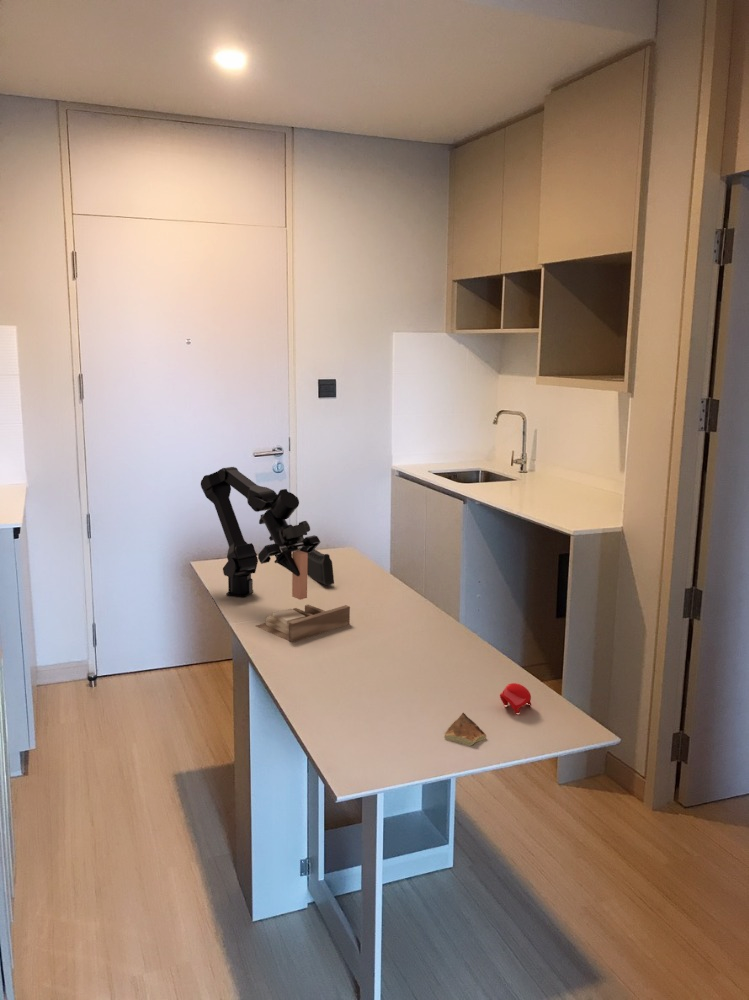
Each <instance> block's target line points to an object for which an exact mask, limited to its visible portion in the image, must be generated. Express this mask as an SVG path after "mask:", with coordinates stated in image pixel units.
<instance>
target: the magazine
mask: <svg viewBox="0 0 749 1000" xmlns="http://www.w3.org/2000/svg"><path fill="white" fill-rule="evenodd" d="M300 537H301V539H300V540H299V541H297V543H301V542H302V541H303V539H304V538H305V537H304V535H303V536H300ZM292 558H293V552H292ZM307 567H308V573H307V577H309V578H311V579H313V580H314V581H316V582H317V583H321V584H323V585H326V586H331V585H334V584H335V579H334V569H333V568H334V567H333V561H332V559H331V557H330V554H329V553H322V552H320V551H318V550H317V549H316V548H315V549H314V550H313V551H312V552H311V553H308V563H307Z"/></svg>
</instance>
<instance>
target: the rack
mask: <svg viewBox="0 0 749 1000" xmlns="http://www.w3.org/2000/svg"><path fill="white" fill-rule="evenodd" d="M350 609H351V607H350V605H346V604H345V605H342V606H339V607H335V608H330V609H329V610H324V609H321V608H319V607H316V606H314V605H310V604H305V605H304V610H302V609H300V608H297V607H294V608H289V609H288V608H286V609H283V610H279V611H274V612H272V615H269V616H266V620H265V622H264V623H260V624H256V625H255V627H257V628H259V629H262V630H264V631H266V632H268V633H270V634H272V635H274V636H278V637H279V638H282V639H284V640H286V641H288V642H291V643H296V642H299V641H301V640H305V639H308V638H311V637H314V636H317V635H321V634H323V633H327V632H330V631H333V630H336V629H338V628H342V627H345V626H348V625H350V620H351V619H350V618H351V616H350V615H351V613H350V611H351V610H350Z"/></svg>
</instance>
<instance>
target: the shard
mask: <svg viewBox="0 0 749 1000" xmlns="http://www.w3.org/2000/svg"><path fill="white" fill-rule="evenodd" d="M486 738H487V734H486V733H485V732H484V731H483V729H481V728H480V727H479V726H478V725H477V723H475V722H474V721H473V720H472V719H470V717H469V716H468V715H466V713H465V712H462V713H461V714H460V715H459V717H458V718H457V719H456V720H454V722H453V723H452V724H451V725H450V726H449V727H448V728H447V730H446V732H445V733H444V739H445V740H447V741H451V742H456V743H460V744H463V745H467V746H469V747H471V746H472V745H474V744H475V743H477V742H480V741H484V740H486Z"/></svg>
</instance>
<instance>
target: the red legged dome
mask: <svg viewBox="0 0 749 1000" xmlns="http://www.w3.org/2000/svg"><path fill="white" fill-rule="evenodd" d="M499 698H500V700H501V702H502V703H503V706H504V705H508V706H509V705H510V706H511V708H512V709H513V711H514V712H515V714H516V713H519V712H520V710H519V709H520V708H522V707H524V706H525V705H527V704H526V703H528V704H530V705H531V706H532V702H531V701H532V696H531V693H530V691H529V689H527V687H526V686H524V685H523V684H520V683H516V682H515V683H513V682H512V683H509V684H507V685H506V686H505V688H504V689H503V690H502V692H501V693H500V694H499ZM520 713H521V712H520Z"/></svg>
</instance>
